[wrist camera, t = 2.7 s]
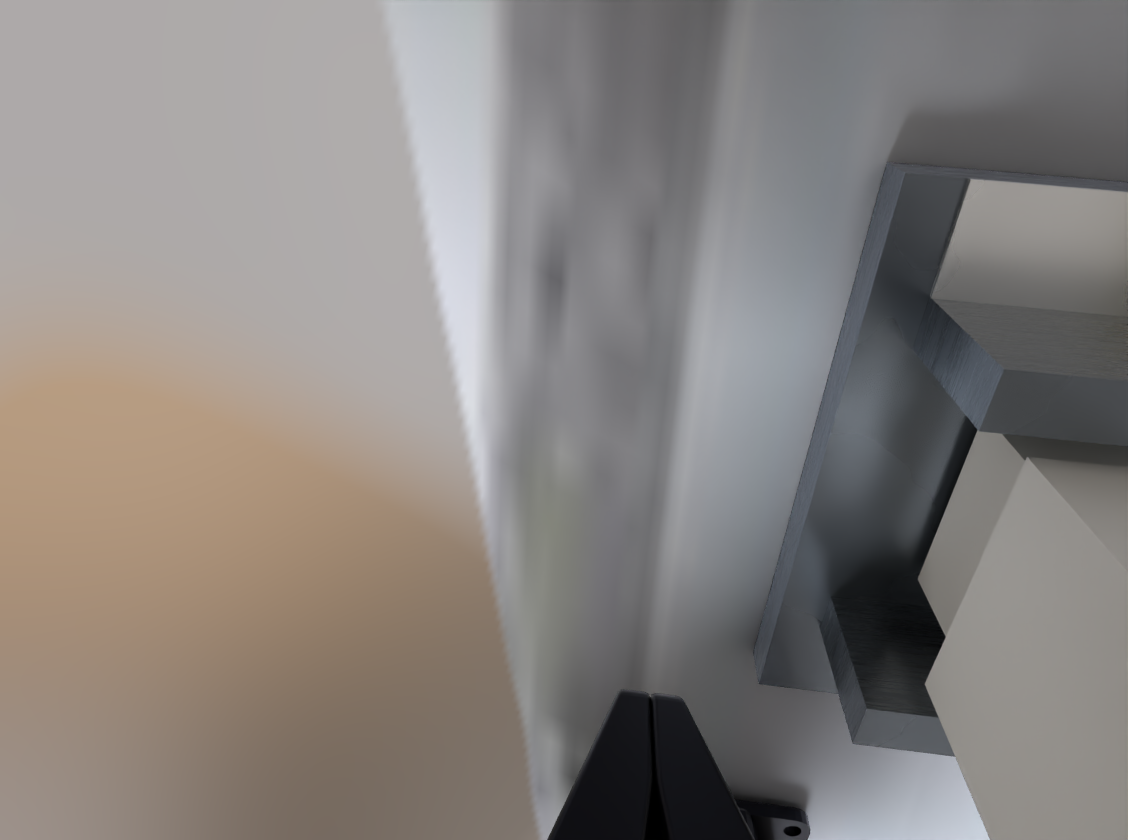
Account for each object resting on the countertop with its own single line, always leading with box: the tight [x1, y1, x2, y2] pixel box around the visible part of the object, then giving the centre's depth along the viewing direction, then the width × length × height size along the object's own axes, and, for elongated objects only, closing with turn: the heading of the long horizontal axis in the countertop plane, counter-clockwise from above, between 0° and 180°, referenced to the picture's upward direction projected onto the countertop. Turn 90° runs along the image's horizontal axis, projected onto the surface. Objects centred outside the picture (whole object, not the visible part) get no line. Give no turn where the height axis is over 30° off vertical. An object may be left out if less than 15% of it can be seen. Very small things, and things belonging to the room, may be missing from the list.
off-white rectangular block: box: [918, 430, 1128, 840], centre depth 11 cm, size 5×4×7 cm
